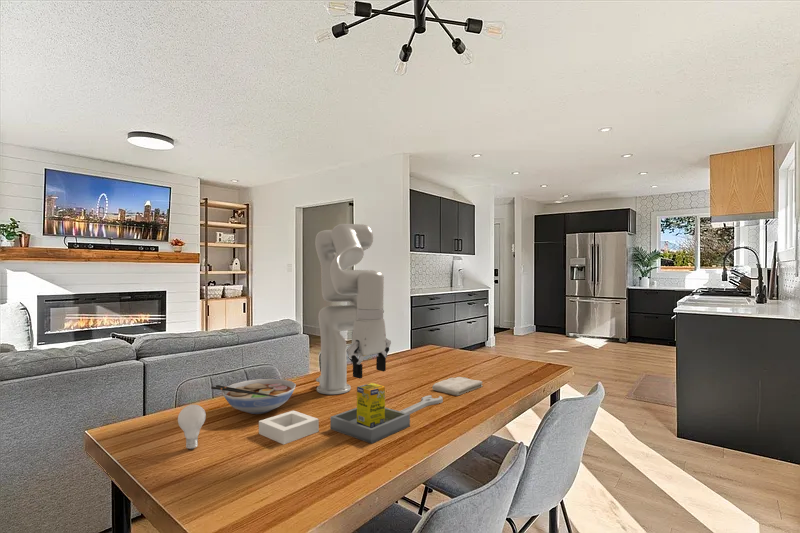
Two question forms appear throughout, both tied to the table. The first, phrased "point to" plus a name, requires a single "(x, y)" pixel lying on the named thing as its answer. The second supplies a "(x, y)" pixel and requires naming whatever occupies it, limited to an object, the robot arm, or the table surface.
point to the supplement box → (370, 405)
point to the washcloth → (457, 385)
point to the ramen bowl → (257, 394)
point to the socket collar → (288, 426)
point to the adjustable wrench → (423, 404)
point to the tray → (349, 427)
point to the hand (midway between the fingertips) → (369, 373)
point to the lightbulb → (191, 423)
